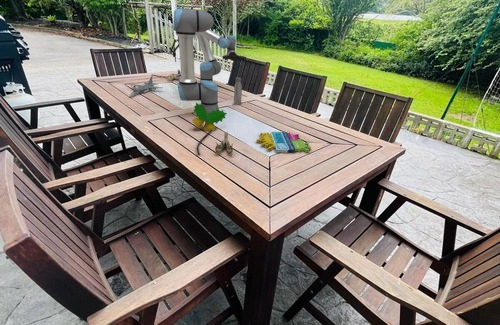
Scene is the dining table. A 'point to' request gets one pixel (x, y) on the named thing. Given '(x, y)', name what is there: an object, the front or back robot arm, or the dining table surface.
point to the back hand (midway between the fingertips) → (235, 59)
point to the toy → (173, 76)
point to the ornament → (207, 117)
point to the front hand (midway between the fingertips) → (184, 61)
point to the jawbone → (224, 145)
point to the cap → (238, 79)
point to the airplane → (143, 87)
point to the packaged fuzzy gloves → (283, 142)
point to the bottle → (237, 93)
